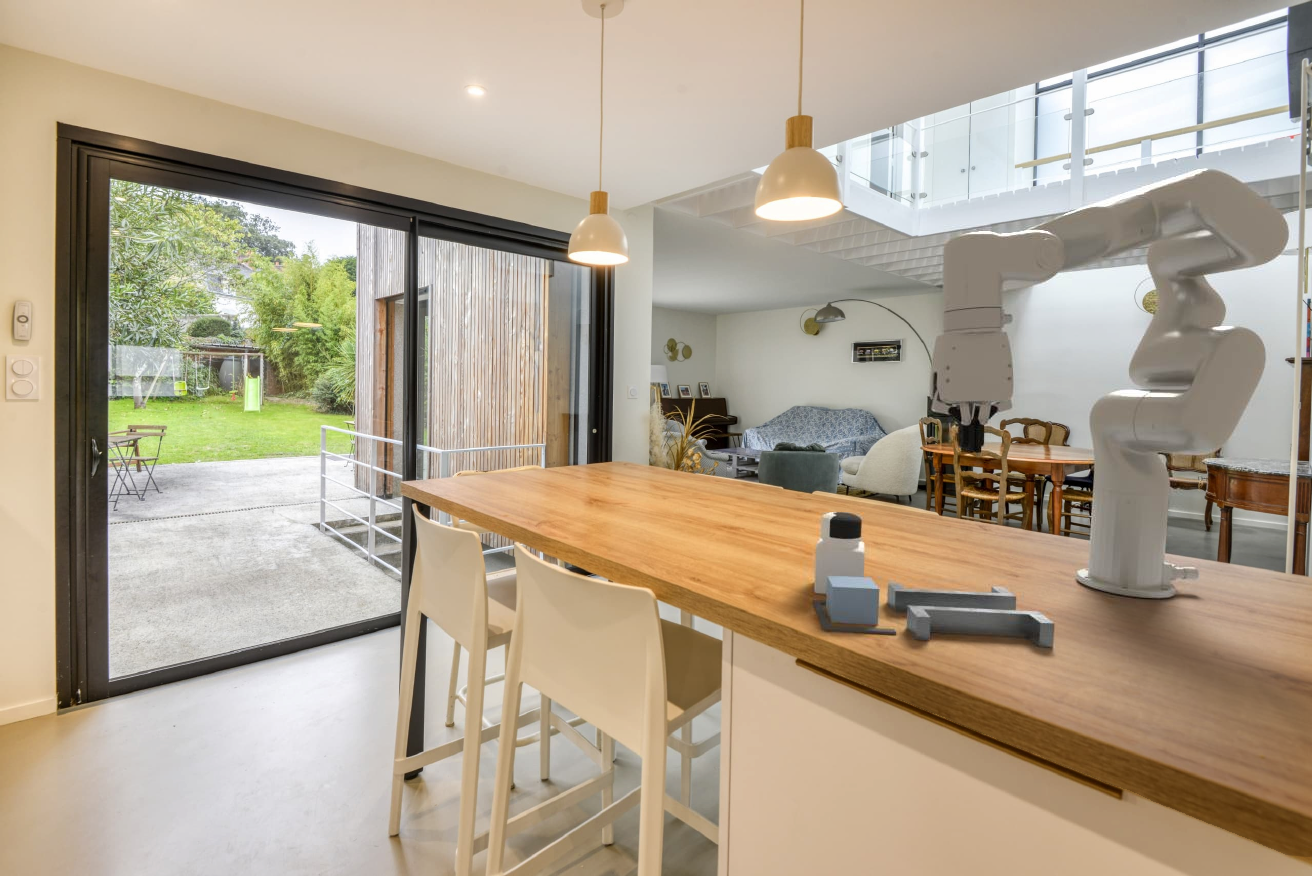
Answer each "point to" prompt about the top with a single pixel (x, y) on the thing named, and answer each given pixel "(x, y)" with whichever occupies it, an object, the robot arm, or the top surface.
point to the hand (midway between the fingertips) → (970, 451)
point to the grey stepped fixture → (968, 614)
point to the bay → (827, 626)
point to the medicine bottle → (838, 549)
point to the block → (852, 600)
